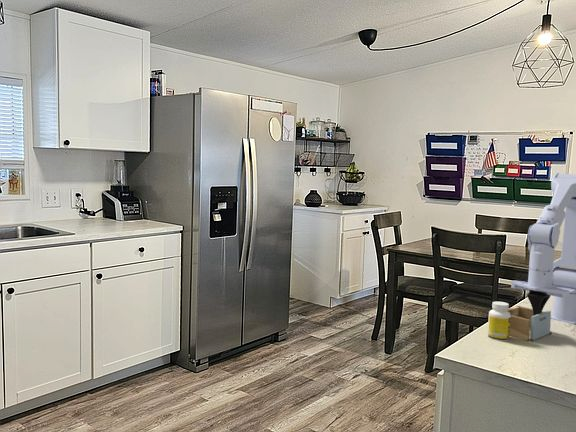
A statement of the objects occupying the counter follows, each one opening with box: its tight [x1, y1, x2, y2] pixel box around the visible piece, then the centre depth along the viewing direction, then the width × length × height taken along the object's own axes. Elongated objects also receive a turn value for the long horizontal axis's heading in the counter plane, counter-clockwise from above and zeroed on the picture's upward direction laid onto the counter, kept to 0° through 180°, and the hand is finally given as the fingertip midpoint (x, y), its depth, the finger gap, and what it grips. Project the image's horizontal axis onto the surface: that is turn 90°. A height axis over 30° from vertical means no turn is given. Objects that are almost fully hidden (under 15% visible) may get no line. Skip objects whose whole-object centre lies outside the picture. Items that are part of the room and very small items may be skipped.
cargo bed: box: [507, 305, 553, 343], centre depth 143 cm, size 12×10×6 cm
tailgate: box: [530, 310, 552, 341], centre depth 139 cm, size 9×1×6 cm, turn 129°
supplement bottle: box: [486, 301, 511, 342], centre depth 138 cm, size 5×5×10 cm
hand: (537, 319), depth 140 cm, fingers closed
